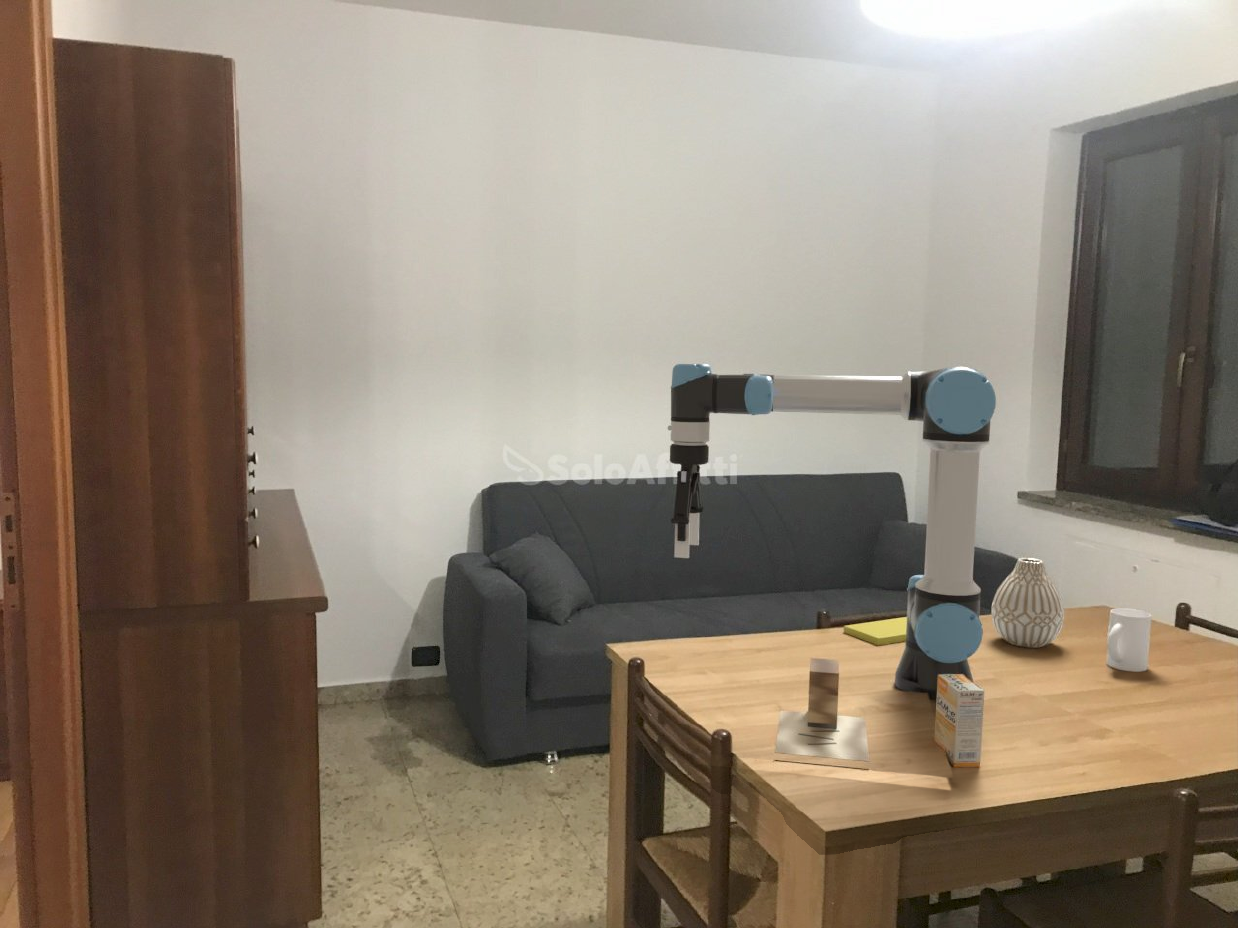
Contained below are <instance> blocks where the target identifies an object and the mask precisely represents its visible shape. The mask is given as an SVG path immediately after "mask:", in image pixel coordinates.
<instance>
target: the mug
mask: <svg viewBox="0 0 1238 928" xmlns="http://www.w3.org/2000/svg"><path fill="white" fill-rule="evenodd" d="M1151 625H1152V614H1151V613H1149V612H1146V611H1144V610H1139V609H1134V608H1127V607H1126V608H1124V607H1123V608H1121V607H1120V608H1112V609H1110V612H1109V625H1108V627H1107V630H1108V632H1107V634H1106V635H1107V637H1106V638H1107V643H1106V650H1107V652H1106V653H1107V654H1106V664H1107V665H1108V666H1109V667H1111V668H1113V669H1115V670H1116V669H1117V670H1119V671H1124V672H1125V671H1126V672H1134V673H1135V672H1136V673H1139V672H1146V671H1148V667H1149V666H1148V665H1149V655H1150V654H1149V653H1150V640H1151V639H1150V637H1151V628H1152V627H1151Z"/></svg>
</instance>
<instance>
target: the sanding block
mask: <svg viewBox="0 0 1238 928" xmlns="http://www.w3.org/2000/svg"><path fill="white" fill-rule="evenodd" d="M809 659H810V660H809V679H808V682H809V683H808V706H807V708H808V709H807V710H808V711H807V713H808V727H818V728H829V729H837V715H838V707H839V706H838V704H839V679H840V678H839V677H840V667H839V666H840V663H839V659H832V658H831V659H830V658H829V659H827V658H818V657H817V658H815V657H810V658H809Z"/></svg>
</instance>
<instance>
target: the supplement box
mask: <svg viewBox="0 0 1238 928" xmlns="http://www.w3.org/2000/svg"><path fill="white" fill-rule="evenodd" d="M984 703H985V690H984V689H983V688H981V687H980V686H979V685H977V684H976V683H975V682H974V681H973V682H972V681H971V680H970V679H968V678H967V677H966V676H965V675H963V674H940V675H938V682H937V699H936V706H935V708H936V709H935V724H934V725H935V726H934V739H933V740H934V741H935V742H936V743H937V744H938V745H939V746H940V747H941V748H942V749H943V750H944V751H945V755H946V758H947V761H948V762H949V763H950V765H952V767H954V768H967V767H968V768H970V767H971V768H975V767H980V766H981V756H982V755H981V752H982V738H983V737H982V735H983V724H984V723H983V721H984V720H983V719H984V705H985V704H984Z"/></svg>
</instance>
